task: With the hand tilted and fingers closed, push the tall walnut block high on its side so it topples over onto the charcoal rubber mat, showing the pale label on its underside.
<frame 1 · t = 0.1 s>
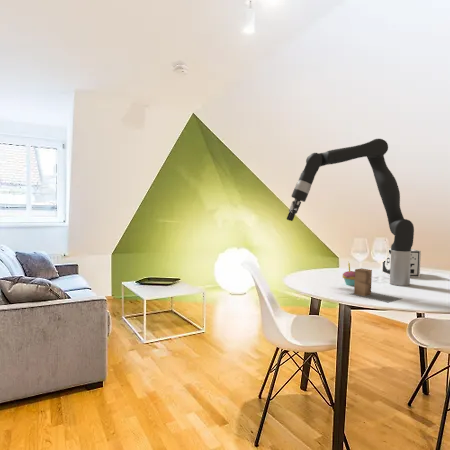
hand: (289, 220, 195), 31 cm above the table, tool tilted 20°, fingers open, 8 cm apart
cupcake: (351, 285, 189), on the table
mat: (375, 297, 164), on the table
walnut block: (362, 294, 167), resting on mat
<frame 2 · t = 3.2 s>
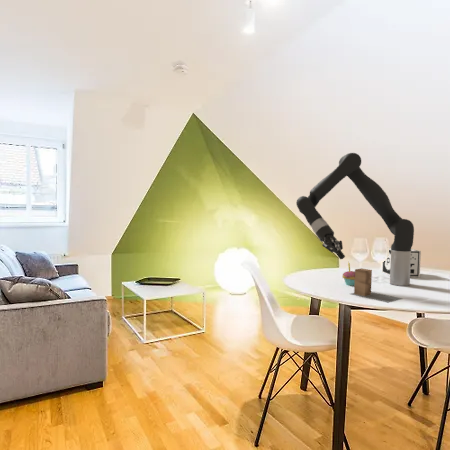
hand: (342, 258, 174), 15 cm above the table, tool tilted 45°, fingers closed
nothing on the table moved.
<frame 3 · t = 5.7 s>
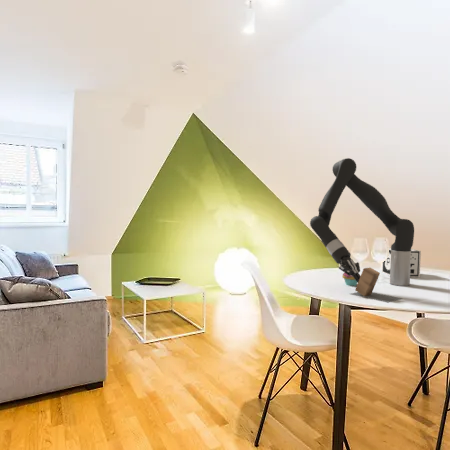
hand: (360, 281, 167), 6 cm above the table, tool tilted 45°, fingers closed
walnut block: (362, 292, 167), point 1 cm above the table, tilted 21°, touching gripper, mat
everything else where it was.
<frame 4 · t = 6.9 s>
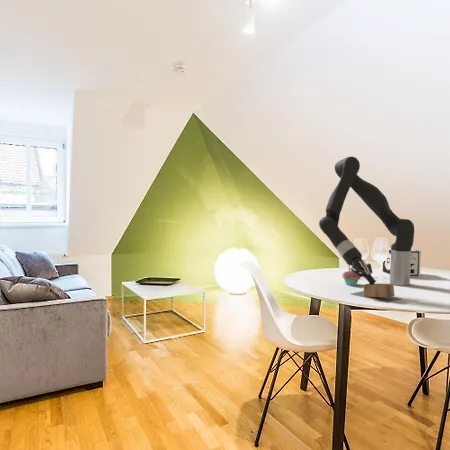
hand: (373, 283, 162), 6 cm above the table, tool tilted 45°, fingers closed
walnut block: (366, 289, 165), point 3 cm above the table, tilted 81°, touching gripper, mat
everything else where it was.
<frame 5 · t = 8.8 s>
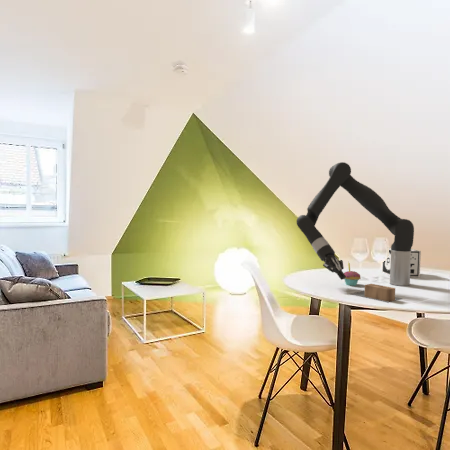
hand: (343, 278, 174), 6 cm above the table, tool tilted 45°, fingers closed
walnut block: (367, 289, 165), point 3 cm above the table, tilted 90°, touching mat
everything else where it was.
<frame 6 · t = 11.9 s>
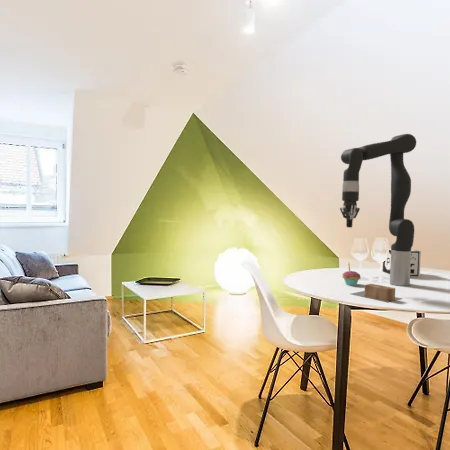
hand: (349, 227, 182), 29 cm above the table, tool pointing down, fingers closed
nothing on the table moved.
at the end: walnut block tilted 90°; walnut block inside the target area (4.7 cm from its centre), point 2.9 cm above the table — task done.
